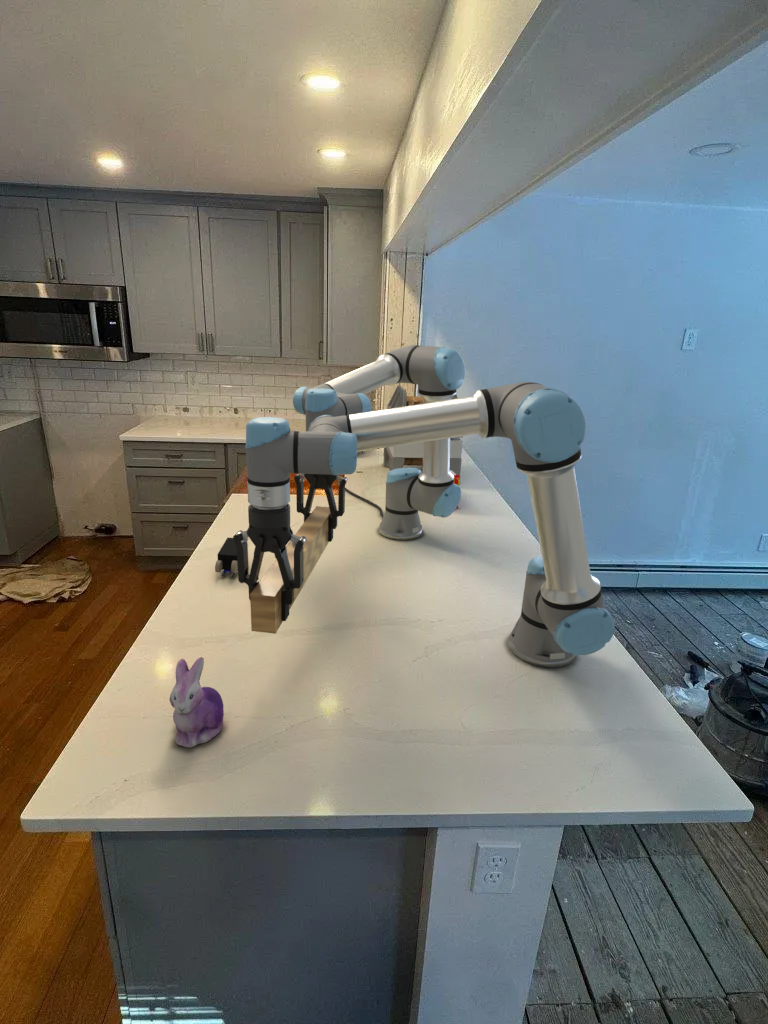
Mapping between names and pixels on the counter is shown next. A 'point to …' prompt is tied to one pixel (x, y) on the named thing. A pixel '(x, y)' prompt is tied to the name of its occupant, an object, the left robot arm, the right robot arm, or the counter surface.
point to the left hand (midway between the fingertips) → (320, 538)
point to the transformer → (414, 452)
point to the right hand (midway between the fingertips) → (271, 615)
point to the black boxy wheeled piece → (227, 558)
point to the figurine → (195, 706)
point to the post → (269, 588)
